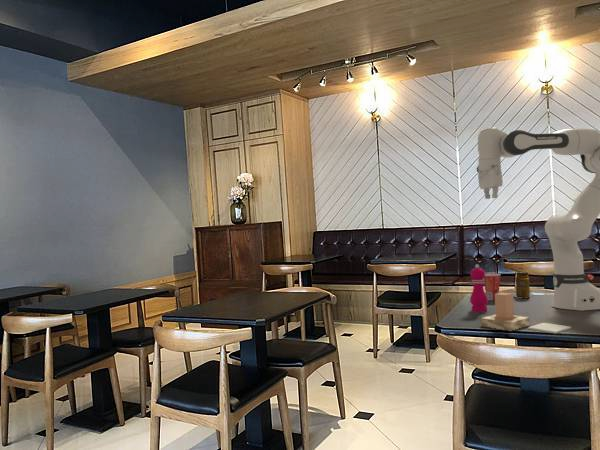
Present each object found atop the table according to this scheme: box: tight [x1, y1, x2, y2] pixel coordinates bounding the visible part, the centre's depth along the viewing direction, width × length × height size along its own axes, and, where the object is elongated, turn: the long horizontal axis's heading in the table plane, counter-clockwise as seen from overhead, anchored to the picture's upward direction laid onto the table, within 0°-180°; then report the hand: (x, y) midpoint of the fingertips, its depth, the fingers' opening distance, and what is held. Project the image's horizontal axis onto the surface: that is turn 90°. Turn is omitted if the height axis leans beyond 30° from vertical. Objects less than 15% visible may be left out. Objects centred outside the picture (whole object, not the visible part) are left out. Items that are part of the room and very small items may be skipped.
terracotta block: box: [494, 291, 515, 320], centre depth 184 cm, size 4×4×12 cm
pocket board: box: [480, 313, 531, 332], centre depth 184 cm, size 12×12×3 cm
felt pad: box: [527, 322, 572, 334], centre depth 176 cm, size 10×10×1 cm
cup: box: [483, 272, 502, 301], centre depth 237 cm, size 9×8×12 cm
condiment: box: [515, 271, 531, 298], centre depth 238 cm, size 7×8×12 cm
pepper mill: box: [469, 263, 489, 313], centre depth 213 cm, size 7×7×20 cm
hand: (491, 198), depth 211 cm, fingers open, 8 cm apart
